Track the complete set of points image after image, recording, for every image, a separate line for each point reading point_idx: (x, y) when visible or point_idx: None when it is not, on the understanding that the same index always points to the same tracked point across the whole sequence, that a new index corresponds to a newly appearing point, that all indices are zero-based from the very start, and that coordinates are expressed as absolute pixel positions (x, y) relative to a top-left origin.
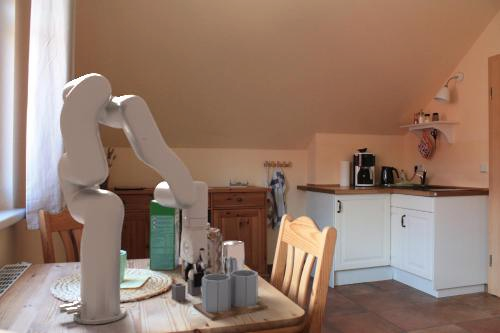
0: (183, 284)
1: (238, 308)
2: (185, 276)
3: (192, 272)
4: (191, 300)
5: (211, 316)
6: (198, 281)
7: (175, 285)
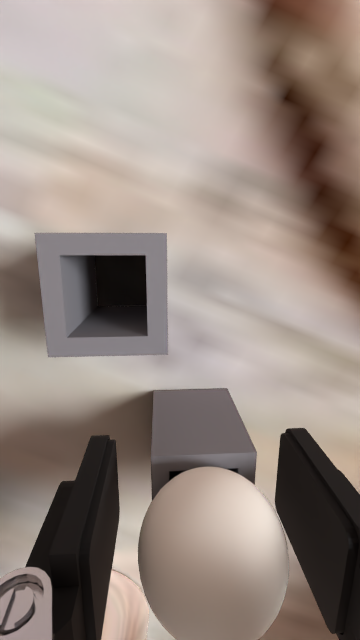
0: (96, 350)
1: None
2: (312, 460)
3: (171, 558)
4: None
5: None
6: (52, 507)
7: (146, 273)
